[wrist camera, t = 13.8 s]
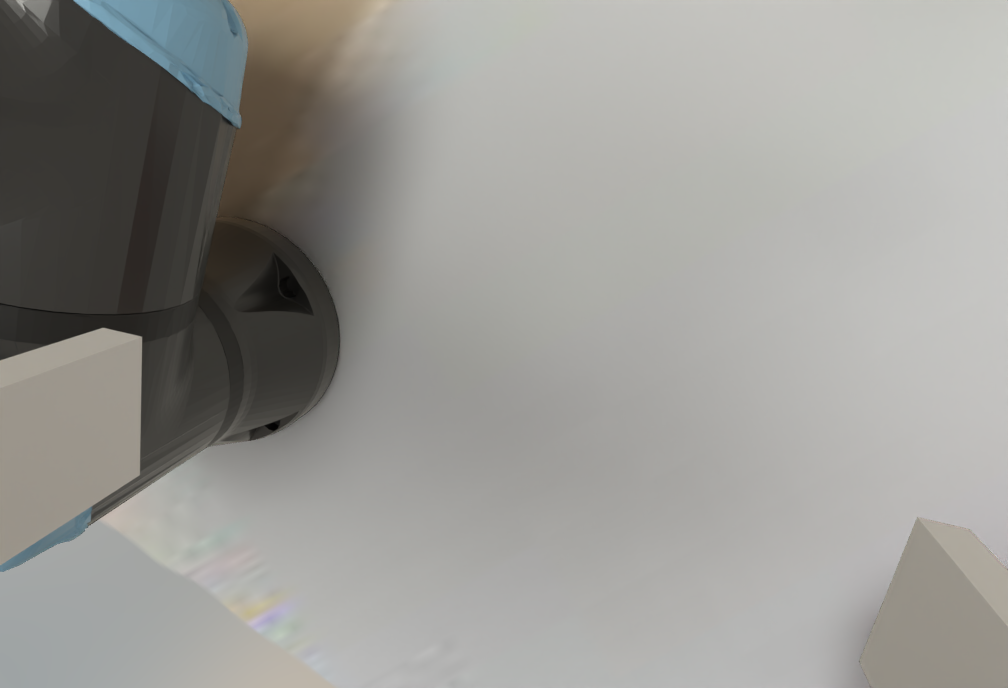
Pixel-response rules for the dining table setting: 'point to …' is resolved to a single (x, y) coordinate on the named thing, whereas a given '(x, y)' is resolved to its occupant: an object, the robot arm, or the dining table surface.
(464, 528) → the dining table surface
